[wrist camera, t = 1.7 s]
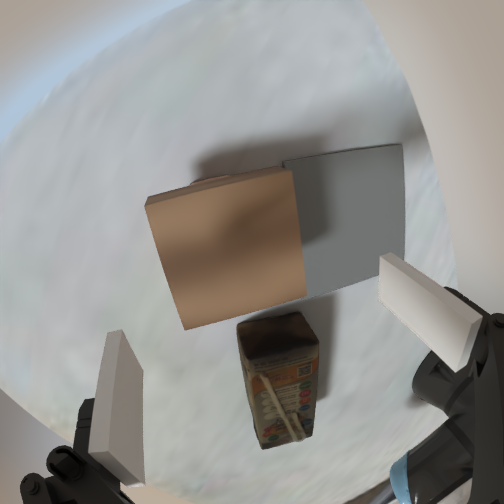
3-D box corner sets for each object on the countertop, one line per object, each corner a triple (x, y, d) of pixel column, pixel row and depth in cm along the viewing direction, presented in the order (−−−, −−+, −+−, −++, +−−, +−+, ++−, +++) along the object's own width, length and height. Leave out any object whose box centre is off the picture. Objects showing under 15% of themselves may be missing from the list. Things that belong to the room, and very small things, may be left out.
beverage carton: (249, 421, 41) (261, 456, 35) (231, 321, 33) (244, 359, 28) (300, 407, 42) (316, 440, 36) (300, 305, 35) (324, 339, 29)
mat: (400, 264, 36) (403, 266, 36) (300, 297, 34) (302, 300, 34) (398, 144, 30) (402, 144, 30) (282, 161, 28) (284, 162, 27)
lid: (294, 279, 27) (307, 295, 25) (182, 310, 26) (184, 330, 23) (277, 166, 23) (291, 171, 20) (148, 196, 22) (144, 206, 19)
